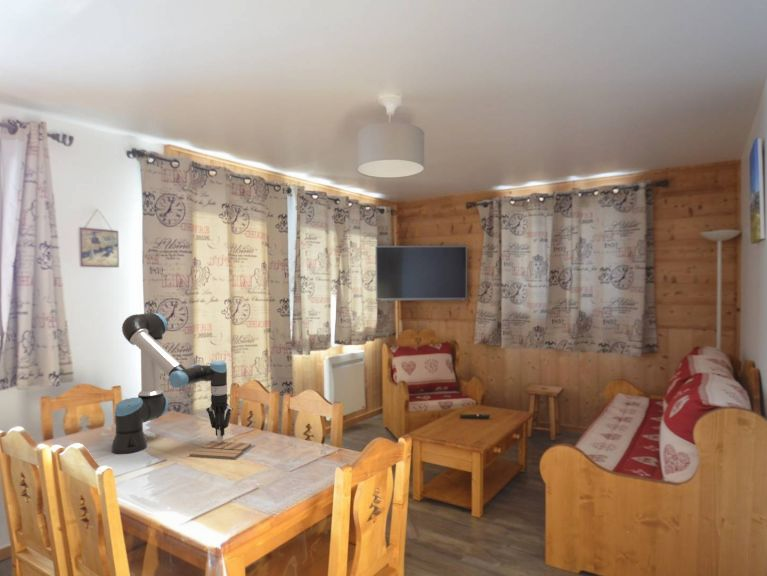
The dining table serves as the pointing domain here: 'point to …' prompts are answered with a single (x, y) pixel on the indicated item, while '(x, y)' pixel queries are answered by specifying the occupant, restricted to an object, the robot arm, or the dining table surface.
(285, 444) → the dining table surface
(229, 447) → the plank
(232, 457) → the underlay
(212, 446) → the plank
